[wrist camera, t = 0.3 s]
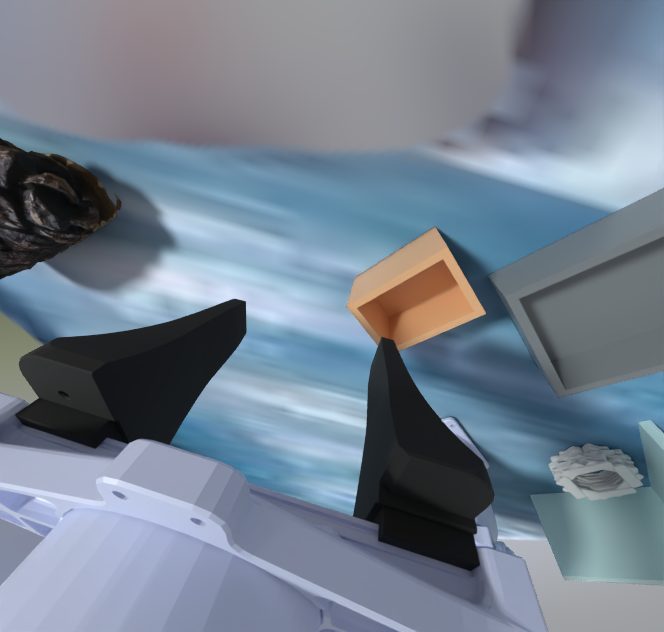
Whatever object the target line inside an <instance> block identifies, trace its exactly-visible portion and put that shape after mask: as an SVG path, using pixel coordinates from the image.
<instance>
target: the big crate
mask: <svg viewBox="0 0 664 632" xmlns="http://www.w3.org/2000/svg"><path fill="white" fill-rule="evenodd" d="M488 277H489V279H490V281H491V282H492V284H493V286H494V288H495V290H496V292H497V294H498V295H499V297H500V299H501V301H502V303H503V305H504V306H505V308H506V310H507V312H508V314H509V316H510V318H511V319H512V321H513V323H514V325H515V327H516V329H517V330H518V332H519V334H520V336H521V338H522V340H523V342H524V343H525V345H526V347H527V349H528V351H529V353H530V355H531V356H532V358H533V360H534V362H535V364H536V366H537V367H538V369H539V370H540V372H541V373H542V374H543V376H544V377H545V379H546V380H547V382H548V383H549V385H550V386H551V387H552V389H553V390H554V392H555V393H556V395H557V396H558V398H560V397H564V396H568V395H572V394H576V393H579V392H583V391H587V390H591V389H595V388H599V387H603V386H607V385H611V384H615V383H619V382H623V381H627V380H631V379H634V378H638V377H642V376H646V375H650V374H654V373H658V372H662V371H664V188H663V189H661V190H659V191H657V192H655V193H653V194H651V195H649V196H647V197H645V198H643V199H641V200H639V201H637V202H635V203H633V204H631V205H629V206H627V207H625V208H623V209H621V210H619V211H617V212H615V213H613V214H611V215H609V216H607V217H605V218H603V219H601V220H599V221H597V222H595V223H593V224H591V225H589V226H586V227H584V228H582V229H580V230H578V231H576V232H574V233H572V234H570V235H568V236H566V237H564V238H562V239H560V240H558V241H556V242H554V243H552V244H550V245H548V246H546V247H544V248H542V249H540V250H538V251H536V252H534V253H532V254H530V255H528V256H526V257H524V258H522V259H520V260H518V261H516V262H514V263H512V264H510V265H508V266H506V267H504V268H502V269H500V270H498V271H496V272H494V273H492V274H490V275H488Z"/></svg>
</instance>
